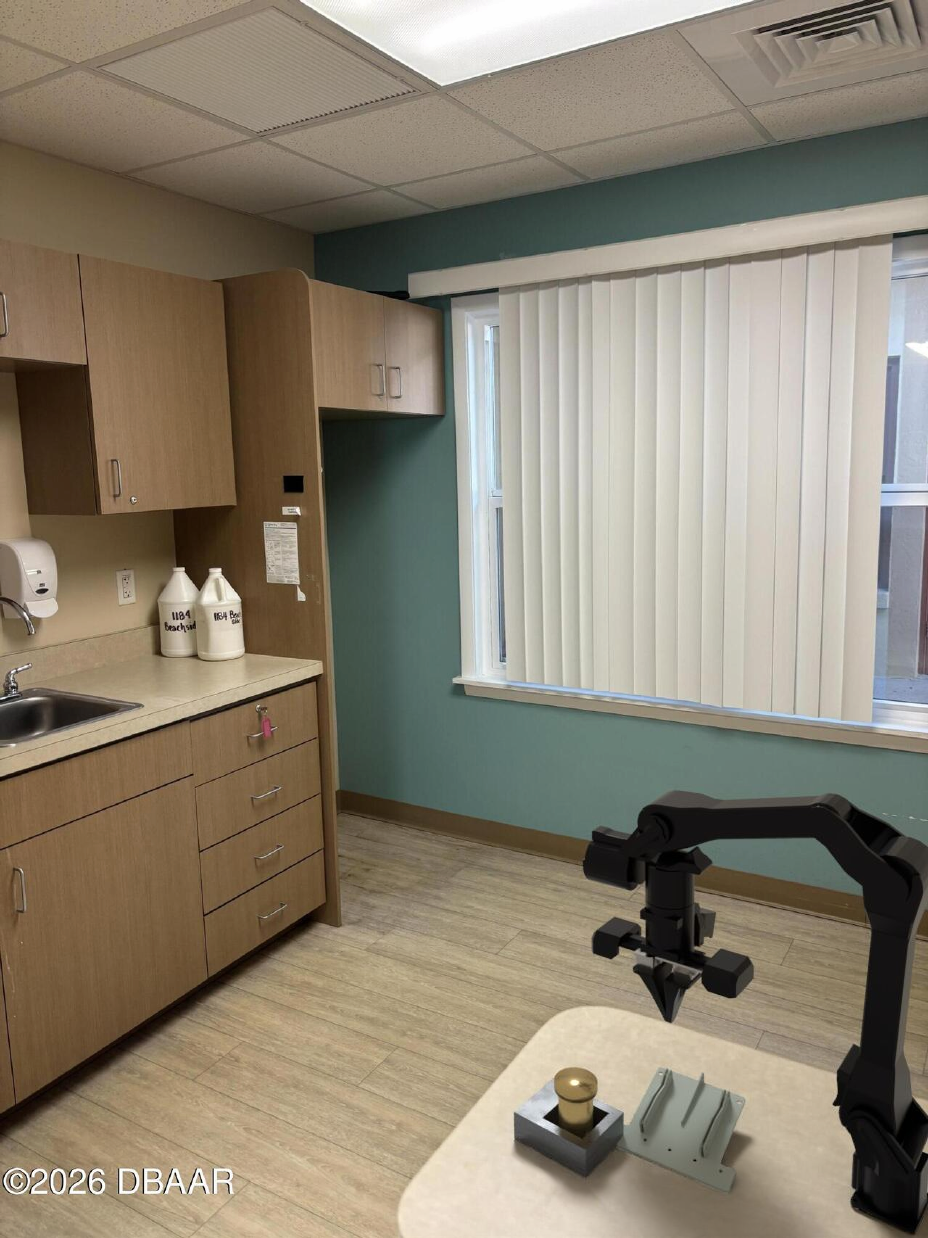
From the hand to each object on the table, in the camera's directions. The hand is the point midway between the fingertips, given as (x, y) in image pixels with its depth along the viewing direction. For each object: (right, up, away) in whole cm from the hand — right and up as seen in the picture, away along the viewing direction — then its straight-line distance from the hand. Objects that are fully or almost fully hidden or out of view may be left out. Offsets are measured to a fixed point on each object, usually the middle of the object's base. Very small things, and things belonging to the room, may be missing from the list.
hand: (670, 1021), depth 114 cm
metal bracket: (+1, -13, -3) cm, 13 cm away
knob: (-12, -13, -4) cm, 18 cm away
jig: (-12, -13, -4) cm, 18 cm away
